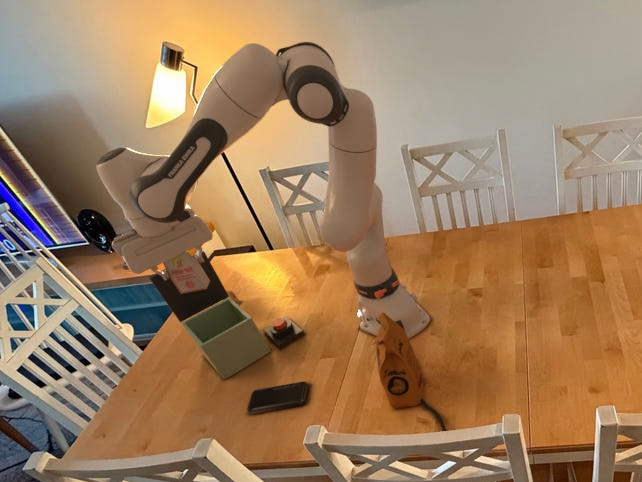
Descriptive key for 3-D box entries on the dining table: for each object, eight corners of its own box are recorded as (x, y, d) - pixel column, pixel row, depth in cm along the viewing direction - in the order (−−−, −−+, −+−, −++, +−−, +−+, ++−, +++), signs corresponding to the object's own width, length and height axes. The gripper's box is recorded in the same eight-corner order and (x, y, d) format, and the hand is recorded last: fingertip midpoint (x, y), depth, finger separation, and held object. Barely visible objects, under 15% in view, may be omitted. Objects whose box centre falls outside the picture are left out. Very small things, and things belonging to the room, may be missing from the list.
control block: (304, 334, 152) (300, 326, 150) (281, 349, 149) (276, 340, 147) (288, 320, 159) (283, 311, 156) (265, 333, 155) (260, 325, 153)
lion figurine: (250, 319, 162) (237, 296, 156) (234, 326, 160) (220, 304, 154) (239, 298, 172) (226, 277, 165) (223, 305, 170) (210, 283, 164)
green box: (271, 351, 149) (251, 317, 140) (224, 379, 142) (200, 346, 134) (248, 329, 158) (229, 297, 149) (204, 355, 152) (180, 323, 143)
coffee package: (385, 413, 125) (359, 348, 110) (388, 377, 134) (364, 313, 119) (425, 407, 125) (404, 341, 110) (425, 371, 134) (405, 306, 119)
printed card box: (185, 285, 133) (163, 253, 126) (210, 280, 133) (189, 248, 126) (180, 293, 130) (158, 261, 123) (206, 288, 130) (185, 255, 123)
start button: (288, 325, 151) (286, 321, 150) (278, 332, 150) (275, 327, 149) (283, 321, 154) (280, 316, 152) (272, 327, 152) (270, 322, 151)
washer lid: (204, 252, 136) (197, 244, 138) (149, 278, 129) (143, 270, 131) (229, 296, 149) (222, 289, 151) (180, 322, 142) (173, 314, 144)
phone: (303, 402, 130) (246, 411, 130) (304, 405, 131) (248, 414, 131) (307, 380, 136) (253, 389, 136) (309, 383, 136) (254, 392, 137)
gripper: (110, 245, 112) (147, 294, 122) (198, 206, 121) (226, 255, 130) (103, 236, 116) (139, 285, 125) (189, 199, 125) (217, 248, 134)
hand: (184, 270), depth 128 cm, fingers closed on printed card box, 7 cm apart
